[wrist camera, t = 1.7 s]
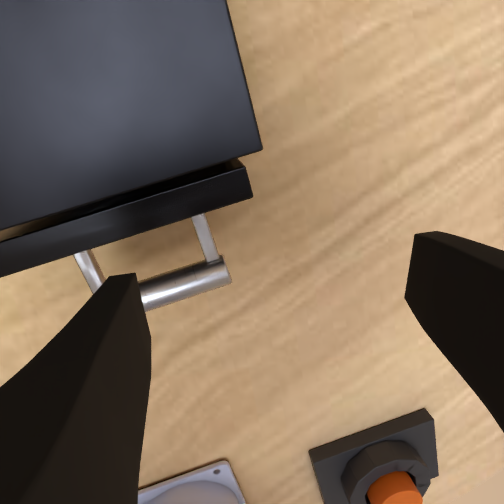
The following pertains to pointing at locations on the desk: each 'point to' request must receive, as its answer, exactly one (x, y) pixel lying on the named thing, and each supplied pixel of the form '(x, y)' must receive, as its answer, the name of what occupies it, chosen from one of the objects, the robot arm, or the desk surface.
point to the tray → (136, 231)
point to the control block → (377, 458)
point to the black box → (114, 99)
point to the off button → (394, 490)
